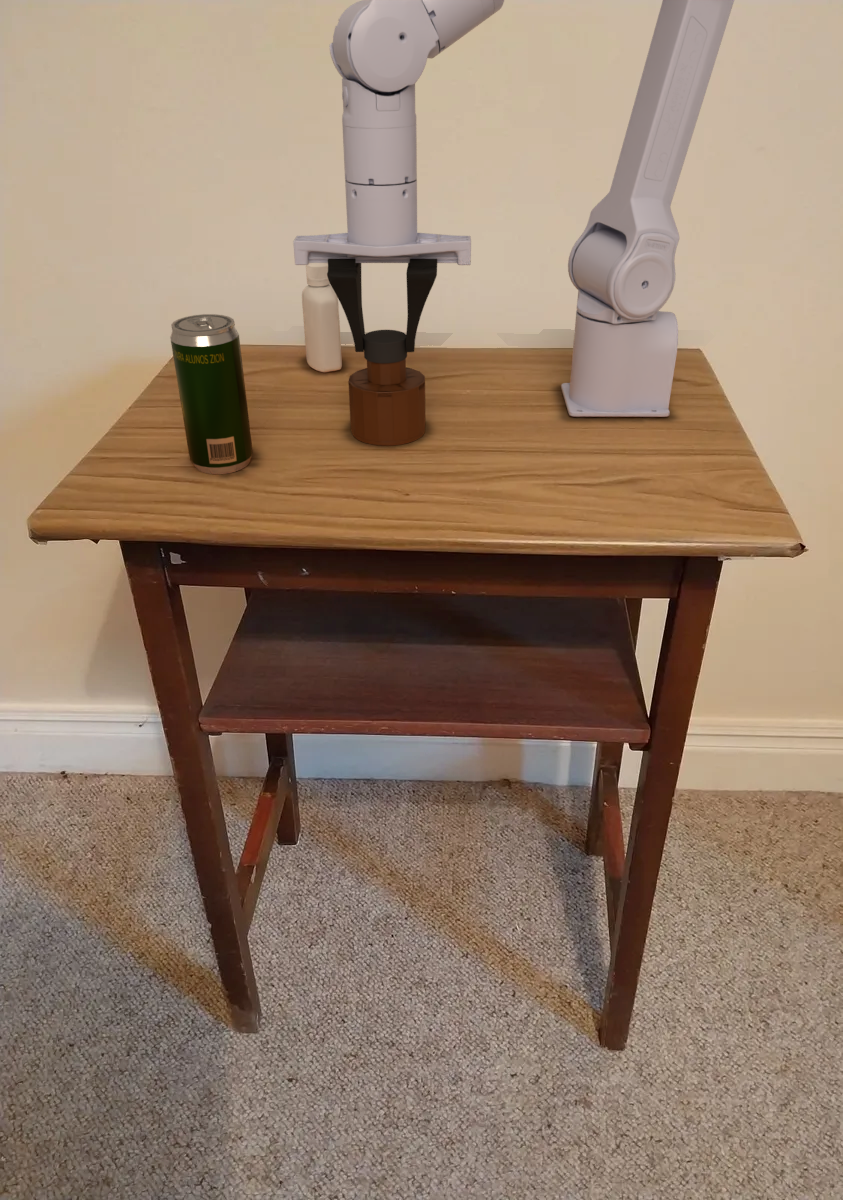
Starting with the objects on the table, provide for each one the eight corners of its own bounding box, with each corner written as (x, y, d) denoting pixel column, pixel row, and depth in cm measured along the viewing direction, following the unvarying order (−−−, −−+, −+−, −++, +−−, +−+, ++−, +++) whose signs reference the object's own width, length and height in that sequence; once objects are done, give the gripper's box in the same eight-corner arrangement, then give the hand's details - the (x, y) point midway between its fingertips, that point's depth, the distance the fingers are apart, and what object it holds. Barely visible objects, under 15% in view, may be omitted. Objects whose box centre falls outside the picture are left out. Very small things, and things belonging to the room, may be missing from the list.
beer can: (261, 468, 77) (245, 327, 71) (199, 480, 75) (177, 337, 69) (243, 445, 81) (226, 310, 75) (183, 456, 79) (161, 318, 73)
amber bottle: (425, 416, 87) (425, 344, 83) (424, 445, 81) (423, 369, 77) (354, 416, 87) (351, 344, 83) (348, 445, 81) (344, 369, 77)
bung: (408, 362, 82) (407, 329, 81) (406, 377, 79) (406, 343, 77) (366, 362, 82) (364, 329, 81) (363, 377, 79) (361, 343, 77)
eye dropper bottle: (348, 356, 101) (342, 243, 95) (340, 374, 97) (333, 256, 90) (309, 355, 102) (300, 243, 95) (299, 373, 97) (289, 256, 90)
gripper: (471, 171, 75) (467, 334, 83) (297, 172, 76) (309, 334, 83) (473, 186, 69) (468, 360, 77) (284, 186, 70) (298, 359, 77)
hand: (385, 348), depth 80 cm, fingers closed on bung, 4 cm apart
